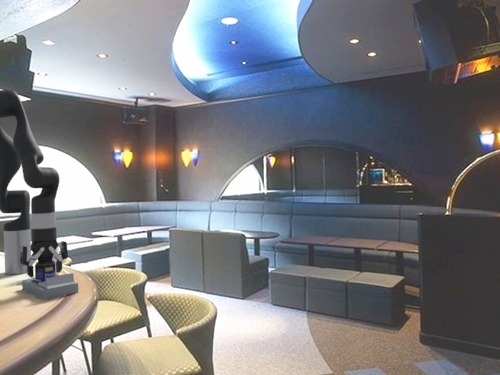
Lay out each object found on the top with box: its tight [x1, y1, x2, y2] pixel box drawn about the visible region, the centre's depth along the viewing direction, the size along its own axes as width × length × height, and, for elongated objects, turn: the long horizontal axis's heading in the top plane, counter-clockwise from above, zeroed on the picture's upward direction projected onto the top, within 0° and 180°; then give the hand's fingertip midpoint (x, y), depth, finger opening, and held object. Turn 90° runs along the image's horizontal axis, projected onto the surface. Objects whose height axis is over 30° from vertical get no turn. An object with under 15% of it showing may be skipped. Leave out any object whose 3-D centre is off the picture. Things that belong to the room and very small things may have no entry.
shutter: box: [38, 272, 75, 289], centre depth 125 cm, size 8×8×3 cm
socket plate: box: [21, 274, 79, 301], centre depth 129 cm, size 19×11×3 cm, turn 46°
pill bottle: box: [34, 254, 56, 284], centre depth 132 cm, size 6×6×11 cm
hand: (45, 274), depth 132 cm, fingers open, 8 cm apart
